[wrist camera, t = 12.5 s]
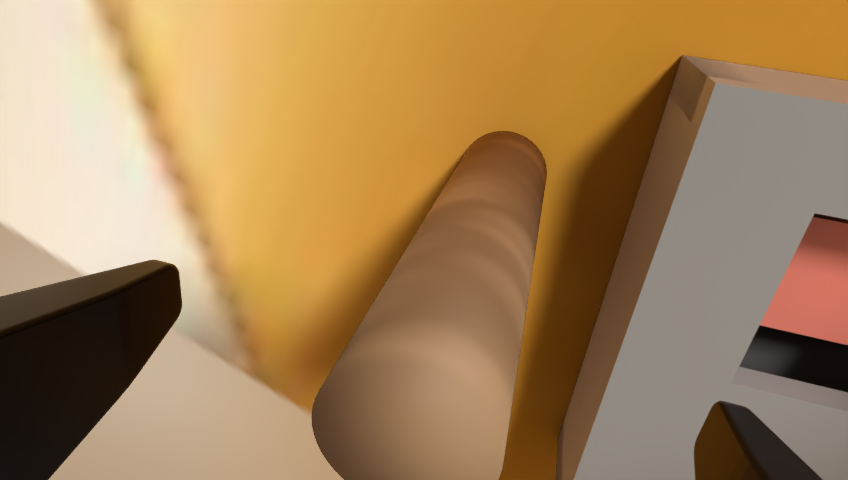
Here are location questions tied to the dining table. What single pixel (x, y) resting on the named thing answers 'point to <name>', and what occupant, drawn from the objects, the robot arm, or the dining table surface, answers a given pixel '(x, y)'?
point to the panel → (716, 281)
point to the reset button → (815, 284)
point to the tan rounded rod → (443, 332)
